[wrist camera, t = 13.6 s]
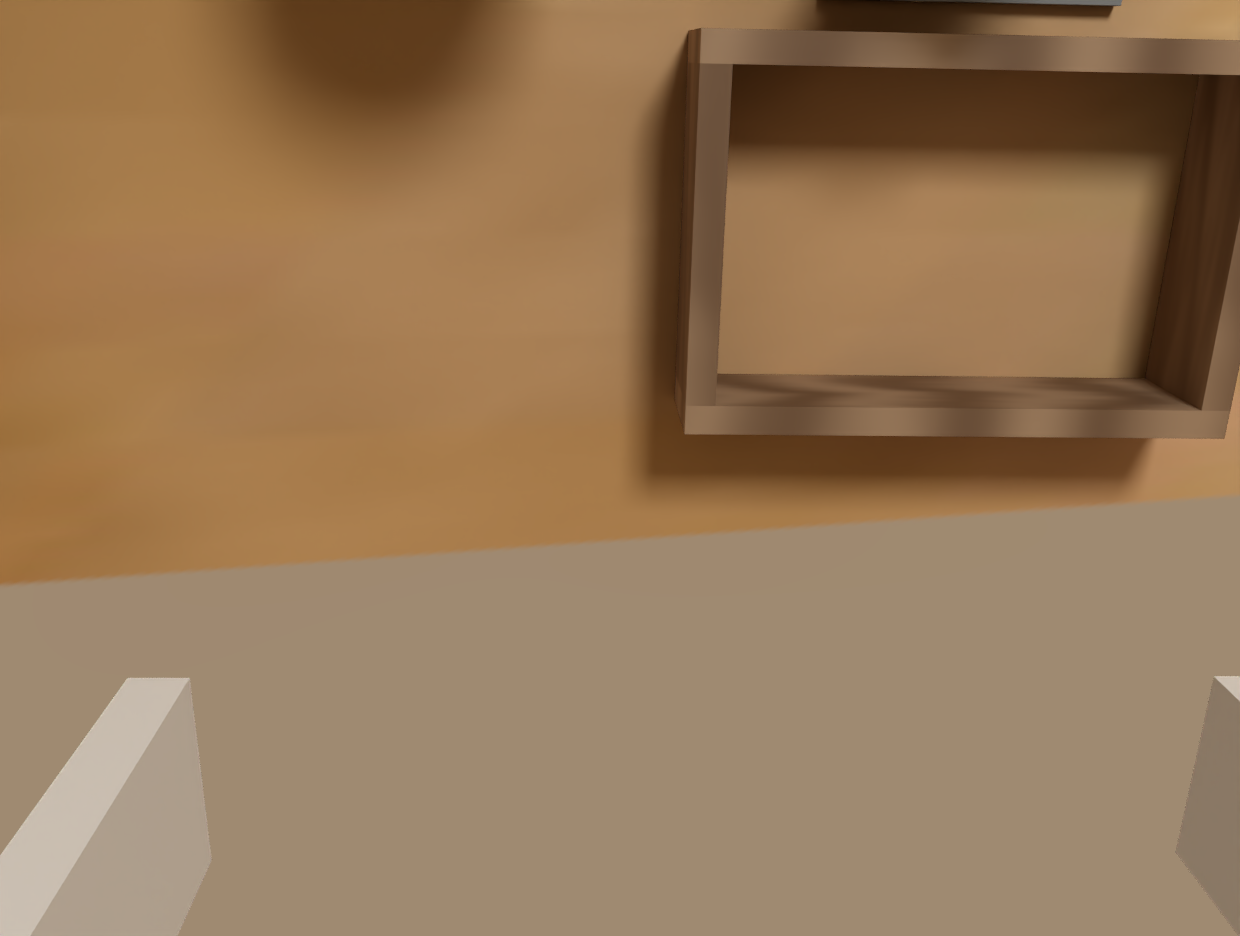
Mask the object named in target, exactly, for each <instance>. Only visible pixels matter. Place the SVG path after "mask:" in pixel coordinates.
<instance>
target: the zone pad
mask: <svg viewBox="0 0 1240 936" xmlns="http://www.w3.org/2000/svg"><path fill="white" fill-rule="evenodd" d="M882 1H923V2H965V3H1006V4H1047V5H1088V6H1121V2H1122V0H882Z"/></svg>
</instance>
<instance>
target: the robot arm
mask: <svg viewBox="0 0 1240 936" xmlns="http://www.w3.org/2000/svg"><path fill="white" fill-rule="evenodd" d="M1176 854H1177V855H1178V856H1179V858H1180V859H1181V860H1182V862H1183V863H1184V864H1185V866H1186V867H1187V868H1188V869H1189V871H1190V872H1191V873H1192V875H1193V876H1194V877H1195V879H1196V880H1197V881H1198V883H1199V884H1200V885H1201V887H1202V888H1203V889H1204V891H1205V892H1206V893H1207V895H1208V896H1209V897H1210V899H1211V900H1212V901H1213V903H1214V904H1215V905H1216V907H1217V908H1218V909H1219V910H1220V912H1221V913H1222V915H1223V916H1224V917H1225V919H1226V920H1227V921H1228V922H1229V924H1230V925H1231V927H1232V928H1233V929H1234V931H1235V932H1236V933H1237V934H1238V936H1240V676H1214V678H1213V683H1212V688H1211V692H1210V697H1209V701H1208V706H1207V710H1206V715H1205V720H1204V724H1203V729H1202V733H1201V738H1200V742H1199V747H1198V752H1197V756H1196V761H1195V765H1194V770H1193V774H1192V779H1191V784H1190V788H1189V793H1188V797H1187V802H1186V806H1185V811H1184V816H1183V820H1182V825H1181V830H1180V834H1179V839H1178V844H1177V848H1176ZM210 862H211V851H210V843H209V834H208V826H207V817H206V809H205V801H204V793H203V784H202V776H201V768H200V760H199V751H198V743H197V735H196V726H195V718H194V710H193V701H192V693H191V685H190V678H127V680H126V681H125V683H124V684H123V685H122V687H121V688H120V689H119V691H118V692H117V694H116V695H115V696H114V698H113V699H112V700H111V702H110V703H109V705H108V706H107V707H106V709H105V710H104V712H103V713H102V714H101V716H100V717H99V719H98V720H97V721H96V723H95V724H94V726H93V727H92V729H91V730H90V731H89V733H88V734H87V735H86V737H85V738H84V739H83V741H82V742H81V744H80V745H79V746H78V748H77V749H76V751H75V752H74V754H73V755H72V756H71V758H70V759H69V761H68V762H67V763H66V765H65V766H64V767H63V769H62V770H61V772H60V773H59V774H58V776H57V777H56V778H55V780H54V781H53V783H52V784H51V786H50V787H49V788H48V790H47V791H46V792H45V794H44V795H43V797H42V798H41V799H40V801H39V802H38V804H37V805H36V806H35V808H34V809H33V811H32V812H31V813H30V815H29V816H28V818H27V819H26V820H25V822H24V823H23V824H22V826H21V827H20V829H19V830H18V831H17V833H16V834H15V836H14V837H13V838H12V840H11V841H10V843H9V844H8V846H7V847H6V848H5V850H4V851H3V853H2V854H1V855H0V936H178V933H179V931H180V929H181V927H182V924H183V922H184V920H185V918H186V916H187V913H188V911H189V909H190V907H191V904H192V902H193V900H194V898H195V896H196V894H197V891H198V889H199V887H200V884H201V882H202V880H203V878H204V876H205V874H206V871H207V869H208V867H209V865H210Z"/></svg>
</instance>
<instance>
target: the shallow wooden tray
mask: <svg viewBox="0 0 1240 936" xmlns="http://www.w3.org/2000/svg"><path fill="white" fill-rule="evenodd" d="M733 64H756V65H802V66H848V67H894V68H939V69H985V70H1031V71H1077V72H1123V73H1168V74H1199V79H1198V85H1197V91H1196V96H1195V102H1194V107H1193V113H1192V118H1191V124H1190V130H1189V135H1188V141H1187V146H1186V152H1185V158H1184V163H1183V169H1182V174H1181V180H1180V185H1179V191H1178V197H1177V202H1176V208H1175V213H1174V219H1173V224H1172V230H1171V236H1170V241H1169V247H1168V252H1167V258H1166V263H1165V269H1164V275H1163V280H1162V286H1161V291H1160V297H1159V302H1158V308H1157V314H1156V319H1155V325H1154V330H1153V336H1152V341H1151V347H1150V353H1149V358H1148V364H1147V369H1146V375H1145V379H1141V378H1047V377H953V376H859V375H765V374H717V366H718V346H719V326H720V306H721V287H722V267H723V247H724V227H725V208H726V188H727V168H728V148H729V129H730V109H731V89H732V69H733ZM1239 366H1240V40H1198V39H1155V38H1112V37H1068V36H1025V35H982V34H938V33H895V32H852V31H809V30H765V29H722V28H699V29H695V30H690V31H689V34H688V60H687V86H686V113H685V139H684V165H683V191H682V218H681V244H680V270H679V296H678V323H677V349H676V375H675V403H676V406H677V410H678V413H679V417H680V420H681V424H682V427H683V431H684V434H716V435H835V436H953V437H1071V438H1189V439H1224V438H1225V433H1226V429H1227V424H1228V419H1229V414H1230V409H1231V405H1232V400H1233V395H1234V390H1235V385H1236V380H1237V376H1238V371H1239Z"/></svg>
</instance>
